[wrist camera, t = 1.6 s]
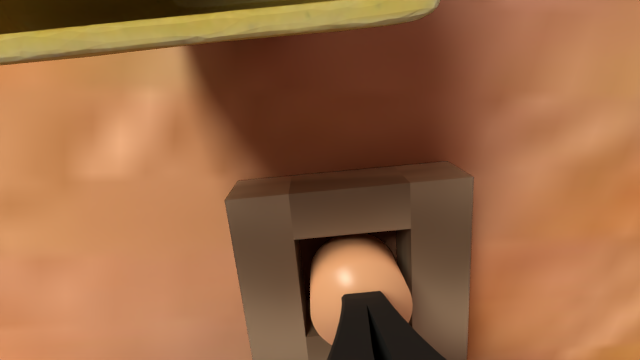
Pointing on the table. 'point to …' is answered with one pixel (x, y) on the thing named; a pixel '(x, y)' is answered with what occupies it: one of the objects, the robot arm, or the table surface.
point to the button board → (343, 219)
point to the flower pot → (178, 23)
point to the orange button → (353, 279)
